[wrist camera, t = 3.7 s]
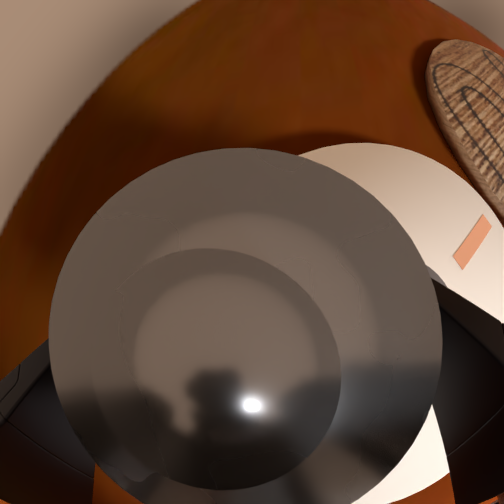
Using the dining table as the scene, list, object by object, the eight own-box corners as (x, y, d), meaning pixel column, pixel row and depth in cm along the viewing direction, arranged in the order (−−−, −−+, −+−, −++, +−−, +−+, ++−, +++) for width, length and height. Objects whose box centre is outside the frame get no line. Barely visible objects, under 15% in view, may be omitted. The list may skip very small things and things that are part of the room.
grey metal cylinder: (253, 414, 12) (194, 606, 2) (174, 318, 14) (-39, 301, 3) (352, 335, 13) (547, 367, 2) (271, 239, 14) (252, 35, 3)
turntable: (335, 536, 12) (340, 553, 10) (121, 307, 16) (104, 305, 14) (538, 327, 13) (555, 326, 11) (373, 110, 18) (381, 92, 16)
